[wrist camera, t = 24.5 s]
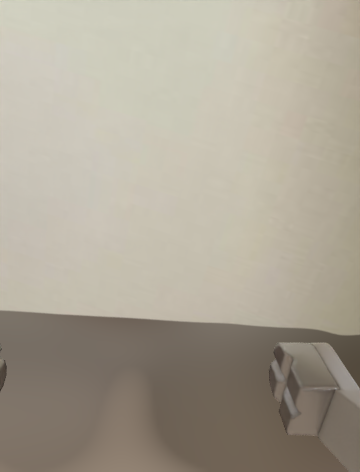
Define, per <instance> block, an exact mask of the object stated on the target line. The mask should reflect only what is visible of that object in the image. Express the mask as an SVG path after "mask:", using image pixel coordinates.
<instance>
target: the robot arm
mask: <svg viewBox="0 0 360 472" xmlns="http://www.w3.org/2000/svg"><path fill="white" fill-rule="evenodd" d="M1 349H2V348H1V345H0V351H1ZM274 355H275V358H276V359H275V360H274V361H273V362H272V363H271V365H270V370H269V381H270V386H271V390H272V393H273V396H274V398H276V399H277V400H278V401H279V402H280V403H281V405H280V409H279V413H280V416H281V418H282V422H283V424H284V427H285V430H286V433H287V435H315V436H318V438H319V439H320V440H321V442H322V443H323V444H324V445H325V446H326V447H327V448H328V449H329V450H330V451H331V452H332V453H333V455H334V456H335V457H336V458H337V459H338V460H339V461H340V462H341V463H342V464H343V466H344V467H345V468H346V469H347V470H348V471H349V472H360V389H359V387H358V386H357V384H356V383H355V381H354V380H353V378H352V377H351V375H350V374H349V372H348V371H347V369H346V368H345V366H344V365H343V363H342V362H341V360H340V359H339V357H338V356H337V354H336V353H335V351H334V350H333V348H332V347H331V346H330V345H329V344H328V343H277V344H276V346H275V348H274ZM5 378H6V363H5V360H4V359H2V358H1V357H0V391H1V389H2V387H3V385H4V381H5Z"/></svg>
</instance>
